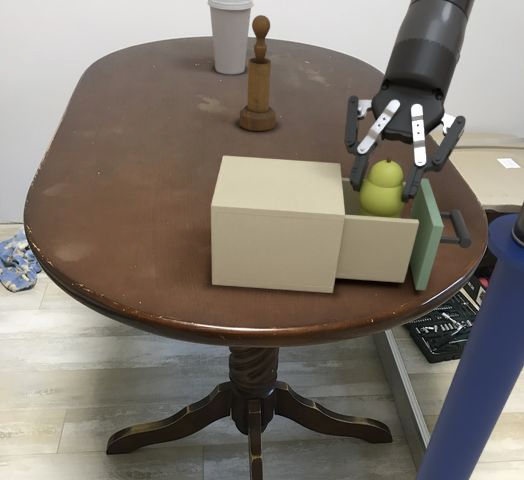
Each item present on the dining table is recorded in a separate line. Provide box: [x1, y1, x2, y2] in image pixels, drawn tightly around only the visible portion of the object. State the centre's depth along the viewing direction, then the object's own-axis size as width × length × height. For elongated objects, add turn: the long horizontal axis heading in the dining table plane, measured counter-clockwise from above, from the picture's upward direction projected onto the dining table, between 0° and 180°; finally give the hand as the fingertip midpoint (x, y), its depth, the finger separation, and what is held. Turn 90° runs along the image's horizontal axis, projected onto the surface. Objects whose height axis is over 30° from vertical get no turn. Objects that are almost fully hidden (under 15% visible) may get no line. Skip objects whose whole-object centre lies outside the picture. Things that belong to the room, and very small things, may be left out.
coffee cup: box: [207, 0, 254, 75], centre depth 126 cm, size 10×10×15 cm
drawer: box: [335, 177, 473, 291], centre depth 73 cm, size 18×12×9 cm, turn 87°
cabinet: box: [210, 155, 345, 294], centre depth 73 cm, size 15×13×11 cm
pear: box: [359, 156, 406, 218], centre depth 69 cm, size 6×6×8 cm
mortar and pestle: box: [239, 14, 277, 132], centre depth 103 cm, size 7×6×18 cm
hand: (380, 194), depth 68 cm, fingers closed on pear, 5 cm apart
